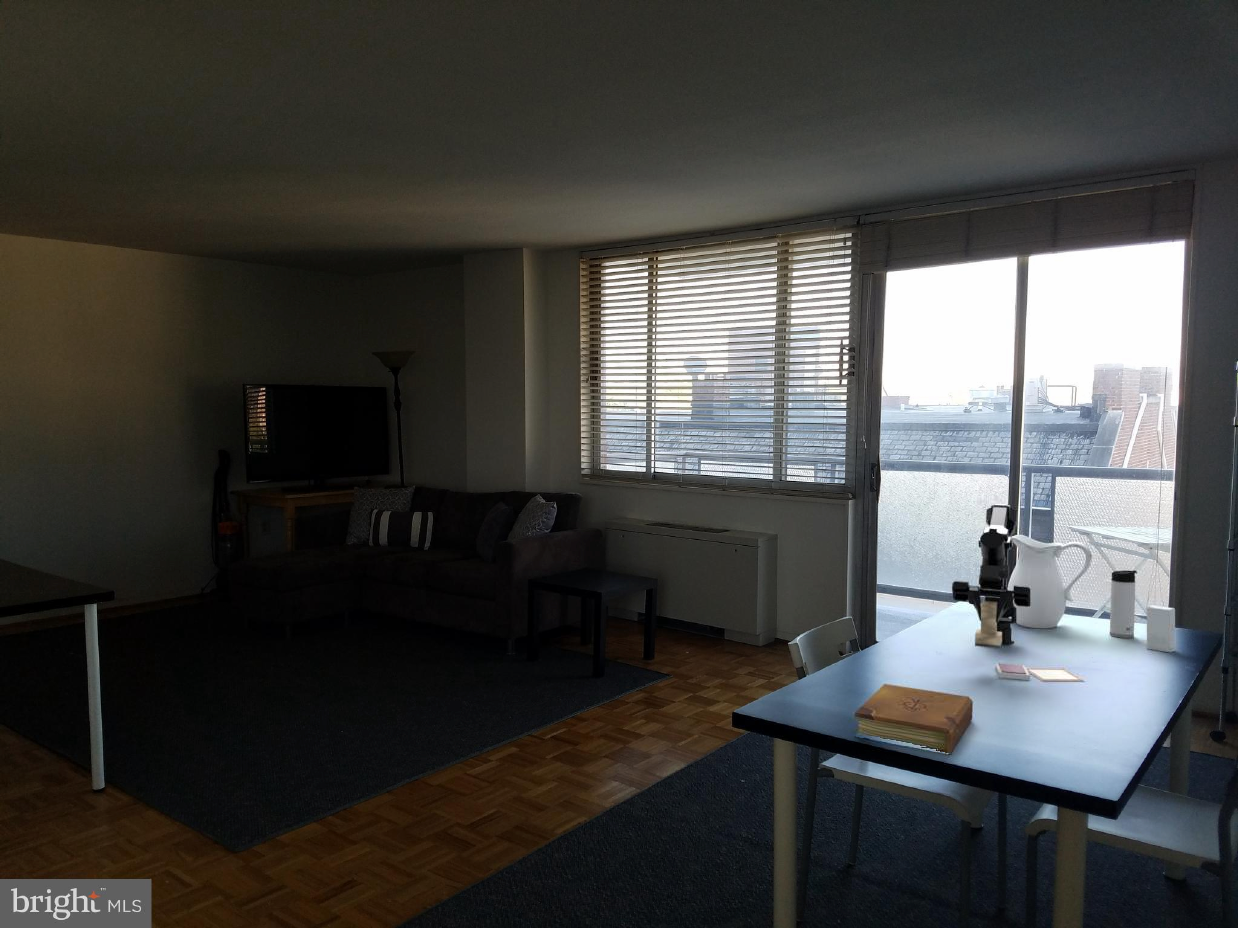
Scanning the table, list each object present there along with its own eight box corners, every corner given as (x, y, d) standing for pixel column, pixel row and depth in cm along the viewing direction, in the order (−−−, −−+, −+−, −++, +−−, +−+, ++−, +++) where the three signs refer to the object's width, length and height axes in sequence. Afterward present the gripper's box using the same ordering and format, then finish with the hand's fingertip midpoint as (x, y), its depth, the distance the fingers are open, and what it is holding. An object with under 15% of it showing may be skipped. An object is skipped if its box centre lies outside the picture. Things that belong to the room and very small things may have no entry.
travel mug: (1134, 639, 257) (1136, 572, 256) (1109, 636, 260) (1111, 570, 259) (1135, 635, 262) (1137, 569, 261) (1110, 632, 266) (1112, 567, 265)
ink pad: (995, 667, 227) (995, 662, 227) (1024, 670, 225) (1024, 664, 225) (999, 677, 218) (999, 671, 218) (1029, 679, 216) (1029, 674, 216)
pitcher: (998, 624, 276) (1000, 537, 274) (1017, 616, 288) (1018, 532, 287) (1081, 637, 259) (1083, 544, 258) (1096, 627, 272) (1099, 539, 270)
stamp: (974, 645, 223) (975, 603, 222) (976, 641, 227) (977, 599, 227) (1000, 648, 220) (1001, 605, 220) (1001, 644, 225) (1002, 601, 224)
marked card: (1023, 669, 226) (1023, 667, 226) (1063, 669, 226) (1063, 667, 226) (1042, 681, 215) (1042, 679, 215) (1084, 681, 215) (1084, 679, 215)
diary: (950, 758, 167) (951, 729, 167) (854, 740, 177) (854, 712, 177) (972, 722, 187) (972, 696, 187) (884, 707, 197) (884, 682, 196)
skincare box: (1175, 650, 245) (1176, 607, 244) (1169, 653, 242) (1170, 610, 241) (1151, 646, 249) (1152, 604, 249) (1145, 648, 247) (1146, 606, 246)
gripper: (953, 550, 230) (947, 599, 221) (1031, 555, 222) (1028, 606, 212) (956, 575, 238) (950, 623, 228) (1031, 580, 229) (1029, 631, 220)
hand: (988, 620), depth 222 cm, fingers closed on stamp, 3 cm apart
